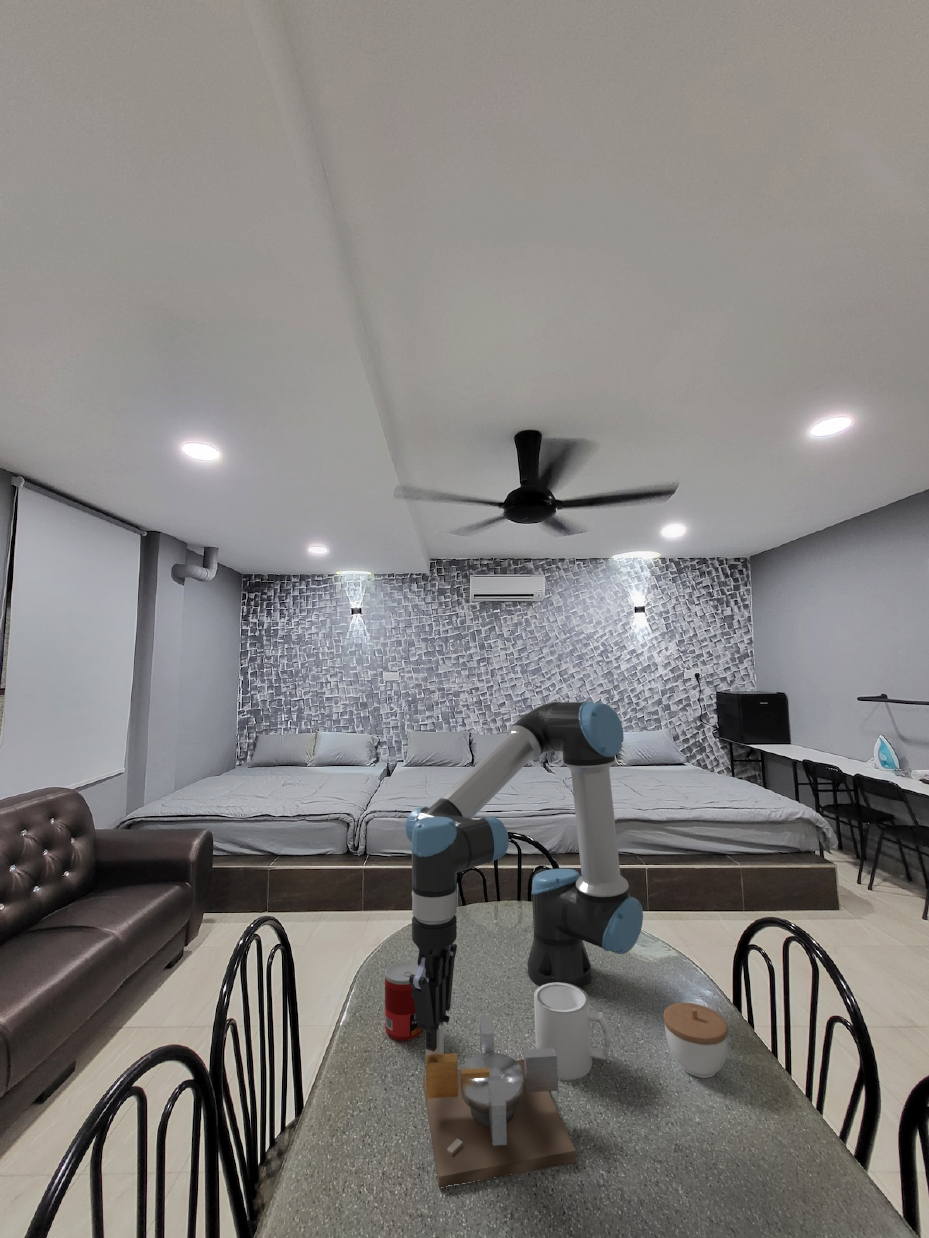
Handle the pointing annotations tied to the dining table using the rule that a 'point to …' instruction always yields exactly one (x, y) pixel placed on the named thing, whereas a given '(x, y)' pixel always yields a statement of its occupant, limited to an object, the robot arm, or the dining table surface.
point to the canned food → (400, 1002)
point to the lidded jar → (696, 1038)
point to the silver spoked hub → (491, 1079)
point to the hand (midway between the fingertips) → (434, 1066)
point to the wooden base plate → (469, 1140)
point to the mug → (568, 1028)
